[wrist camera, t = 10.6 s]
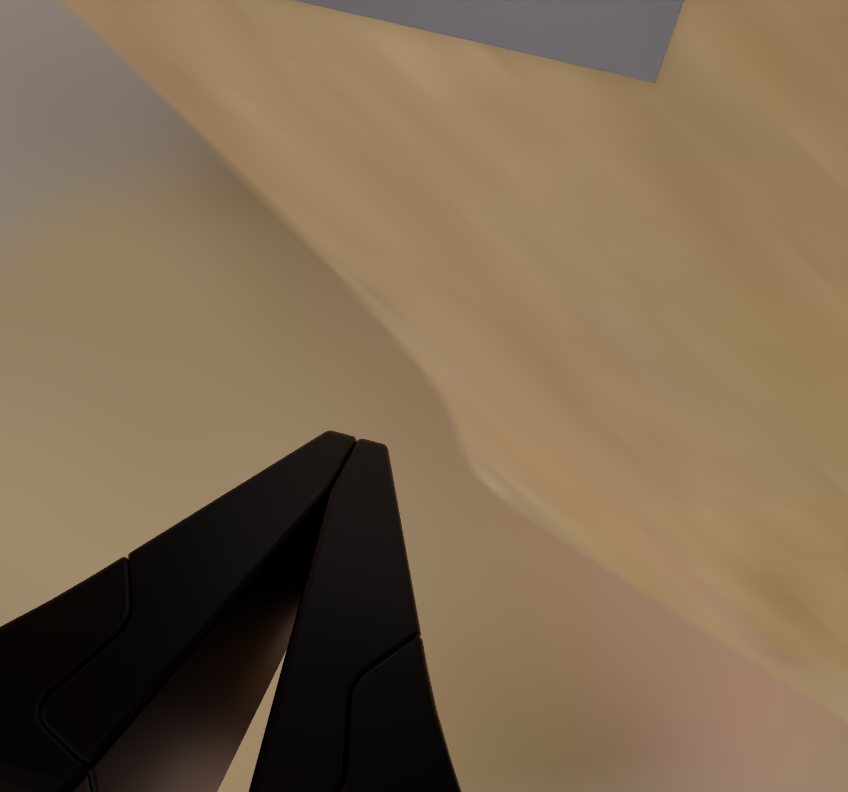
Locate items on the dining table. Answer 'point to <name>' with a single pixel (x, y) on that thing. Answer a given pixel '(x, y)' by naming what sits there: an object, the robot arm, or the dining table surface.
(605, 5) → the board
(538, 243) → the dining table surface
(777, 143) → the dining table surface
